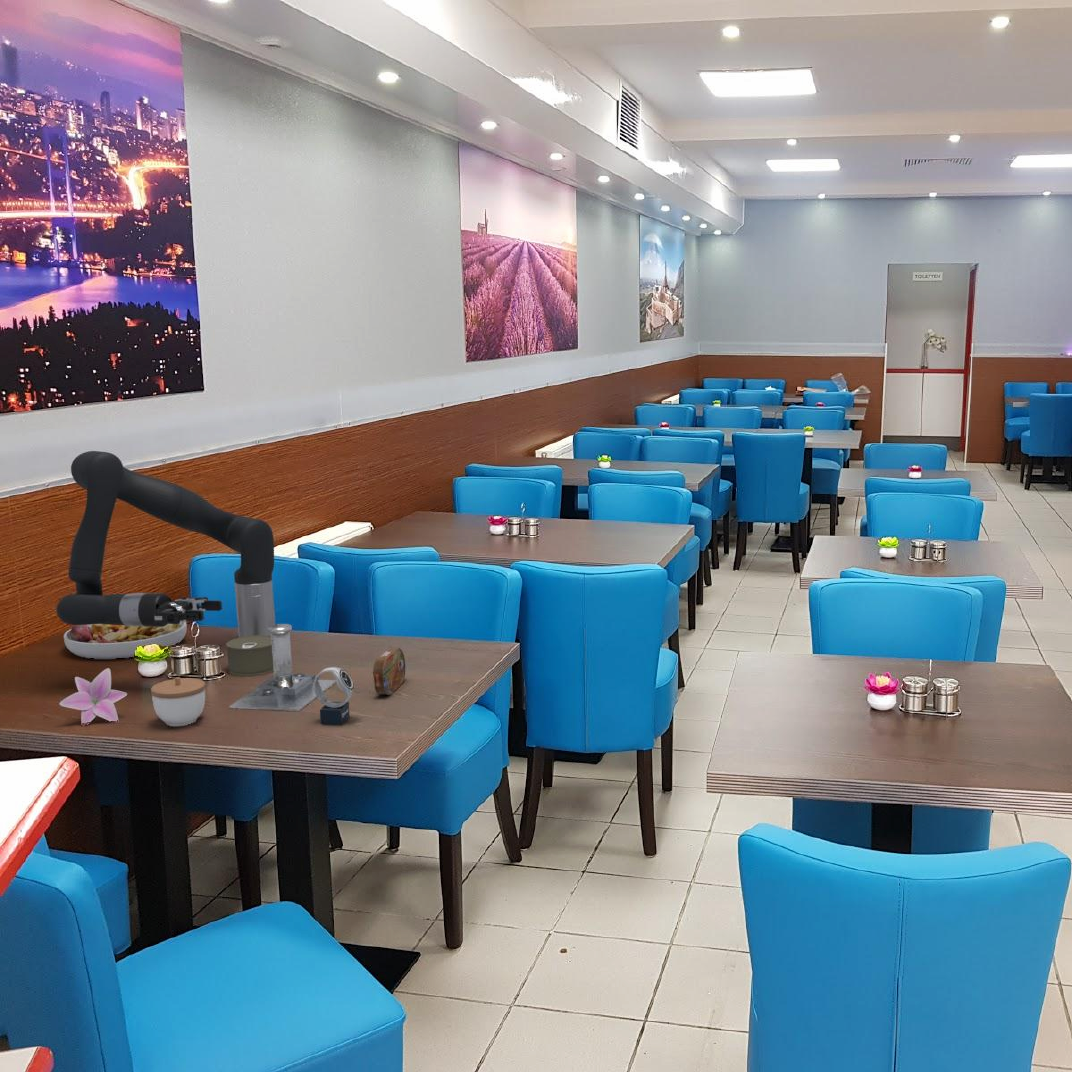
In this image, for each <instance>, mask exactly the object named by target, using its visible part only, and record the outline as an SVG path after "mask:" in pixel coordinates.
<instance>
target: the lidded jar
mask: <svg viewBox="0 0 1072 1072" xmlns="http://www.w3.org/2000/svg"><path fill="white" fill-rule="evenodd" d="M150 694H151V699H152V704H153V708H154V712H155V713H156V716H157V717H158V718H159V719H160V720H161V721H162V722H164V724H165V725H166V724H167V726H168V725H169V727H185V726H188V724H189V725H191V723H192V724H194V723H196V721H197V719H198V718H199V717H200V716H201V714H202V713H203V711H204V709H205V704H206V682H205V681H204V680H202V679H199V678H193V677H192V678H191V677H190V678H189V677H186V678H185V677H183V678H181V677H180V676H178V677H175V678H174V679H169V680H168V679H167V680H163V681H160V682H158V683H156V684H154V685H153V686H151V688H150ZM193 722H194V723H193Z"/></svg>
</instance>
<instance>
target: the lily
mask: <svg viewBox="0 0 1072 1072" xmlns="http://www.w3.org/2000/svg"><path fill="white" fill-rule="evenodd" d="M74 682H75V685H76V688H77V690H78V691H77V692H75V693H72V694H70V695H69V696H66V697H65V698H64V699H62V700H61V701H60V702H59V705H60V706H61V707H64V708H69V709H73V710H77V711H81V715H80V716H81V717H80V719H81V724H82V723H87V722H90V723H91V722H92V721H93V720H94V719H95V718H96V716H97V717H100V718H102V719H105V721H109V722H111V721H117V720H118V721H119V715H118V712H117V708H116V707H115V704H114V703H116V702H118V701H120V700H122V699H123V698H124V697H126V696H127V695H128V693H127V692H125V691H121V690H117V689H112V673H111V669H110V668H109V667H108V668H105V669H104V670H102V671H101V672H100V673H99V674H98V675H97V676H96V677H95V678H94V679H93V680H92V682H91V681H88V680H87V679H85V678H82V677H79V676H75V677H74Z"/></svg>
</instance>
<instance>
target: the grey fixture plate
mask: <svg viewBox="0 0 1072 1072" xmlns="http://www.w3.org/2000/svg"><path fill="white" fill-rule="evenodd" d="M292 675H293V686H292V687H278V686H275V685H274V675H272V676H271V677H270V678H269V677H268V679H266V680H265V681H263V682H262V683H261V684H259V685H257V686H256V687H255V688H254V689H253V690H251V691H250V692H248V693H247V694H245V695H244V696H242V697H241V698H239V699H238V700H236V701H234V702H233V703H231V705H229V706H228V708H229V709H236V708H237V709H239V710H257V711H258V710H260V711H261V710H262V711H264V710H265V711H284V712H286V711H287V712H300V711H302V710H303V709H304V708H306V707H307V706H308V705H310V703H312V702H314V701H315V700H316V699H318V698H317V696H316V694H315V692H314V689H313V688H314V680H315V678H316V675H315V674H305V673H303V672H299V673H292ZM318 682H319V685H320V686H321V689H322V691H323V693H325V692H326V691H327V690H328V688H329V687H330V688H331V687H333V686H334V685H335V684H337V683H336V680H335V679H334V680H333V679H332V680H331V679H318ZM333 684H334V685H333ZM330 688H329V689H330ZM315 698H316V699H315ZM307 704H308V705H307ZM306 705H307V706H306ZM237 709H236V710H237Z"/></svg>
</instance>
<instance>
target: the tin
mask: <svg viewBox="0 0 1072 1072" xmlns="http://www.w3.org/2000/svg"><path fill="white" fill-rule="evenodd" d="M404 654H405V653H404V652H403V650H402V649H401V648H400V647H397V648H389V649H387V650H386V651H384V652H383V653H382V654H381V655H380V656H379V657H378V658H376V660H375V661H374V663H373V668H372V669H373V670H372V675H373V682H374V683H373V684H374V690H375V692H376V694H378V695H380V696H392V695H393V694H394V693H395V692H396V691H395V690H396V689H397V688H398V687H399V688H400V686H402V685H403V684H404V682H405V677H406V659H405V655H404ZM399 688H398V689H399ZM398 689H397V690H398ZM394 691H395V692H394ZM392 693H393V694H392Z"/></svg>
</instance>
